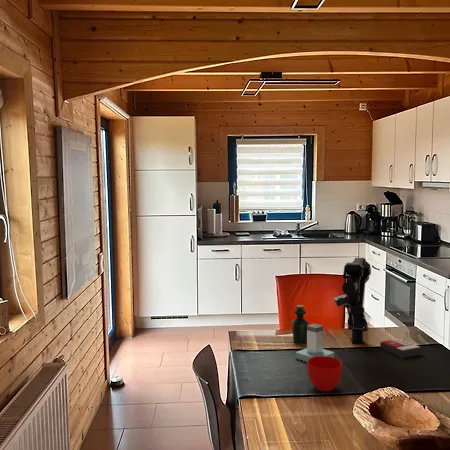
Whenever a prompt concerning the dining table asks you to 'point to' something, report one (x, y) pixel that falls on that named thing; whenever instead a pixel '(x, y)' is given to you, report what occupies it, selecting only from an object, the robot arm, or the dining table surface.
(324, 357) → the ceramic cup
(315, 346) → the housing
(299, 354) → the stand
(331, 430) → the dining table surface
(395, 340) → the red grey flat block
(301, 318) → the potion bottle
